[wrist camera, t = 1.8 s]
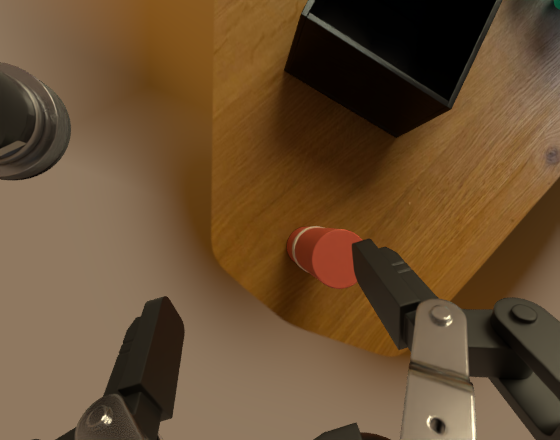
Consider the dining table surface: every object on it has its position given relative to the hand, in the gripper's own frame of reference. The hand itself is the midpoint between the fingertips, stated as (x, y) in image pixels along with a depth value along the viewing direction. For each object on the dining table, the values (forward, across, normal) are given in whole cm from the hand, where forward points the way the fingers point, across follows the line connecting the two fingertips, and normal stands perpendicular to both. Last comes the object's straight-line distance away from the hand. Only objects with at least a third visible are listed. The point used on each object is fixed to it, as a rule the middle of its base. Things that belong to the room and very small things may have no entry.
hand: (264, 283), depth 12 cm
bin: (+31, -19, -5) cm, 37 cm away
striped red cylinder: (+19, -5, +13) cm, 23 cm away
